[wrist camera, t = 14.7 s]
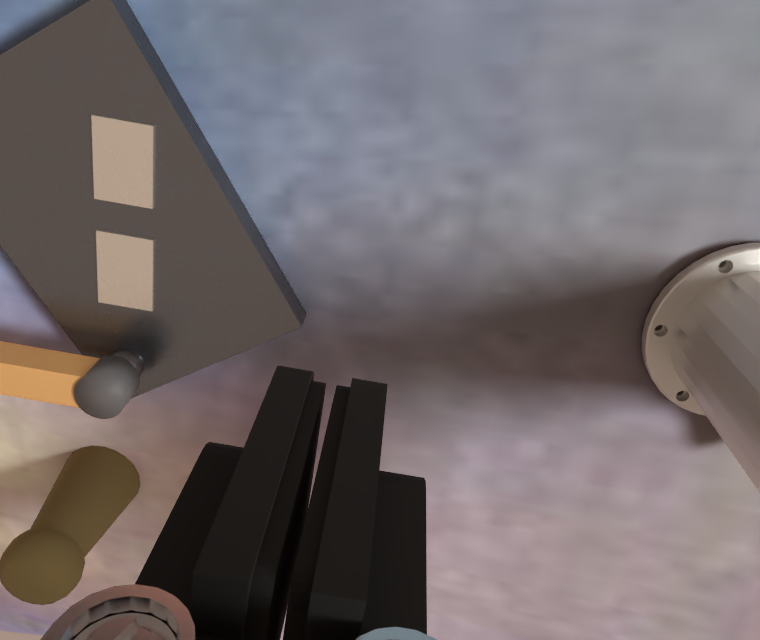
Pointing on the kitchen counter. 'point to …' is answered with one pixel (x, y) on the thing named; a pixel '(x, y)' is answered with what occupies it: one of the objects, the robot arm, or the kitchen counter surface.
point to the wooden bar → (67, 379)
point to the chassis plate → (127, 204)
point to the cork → (69, 525)
